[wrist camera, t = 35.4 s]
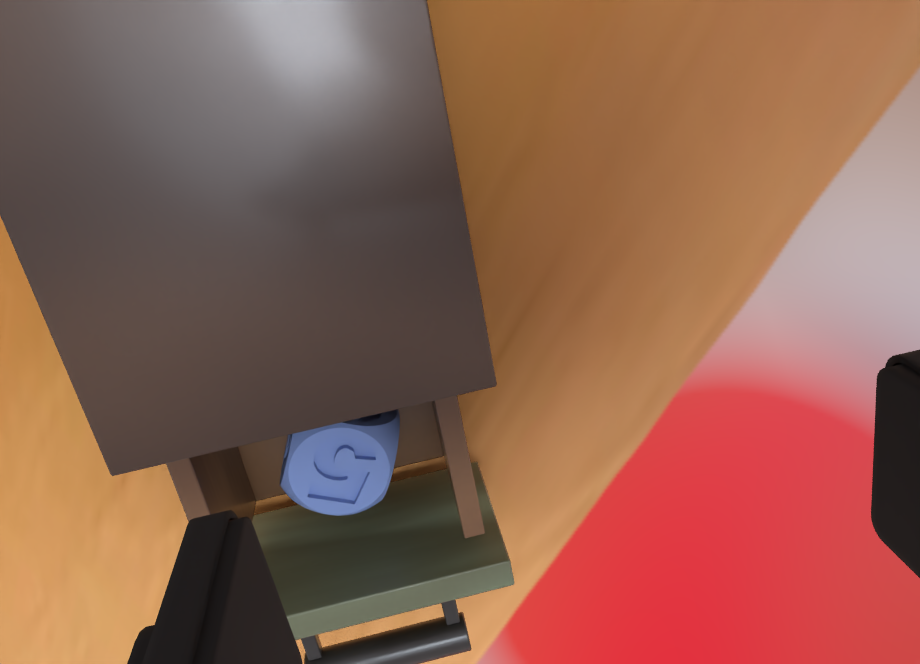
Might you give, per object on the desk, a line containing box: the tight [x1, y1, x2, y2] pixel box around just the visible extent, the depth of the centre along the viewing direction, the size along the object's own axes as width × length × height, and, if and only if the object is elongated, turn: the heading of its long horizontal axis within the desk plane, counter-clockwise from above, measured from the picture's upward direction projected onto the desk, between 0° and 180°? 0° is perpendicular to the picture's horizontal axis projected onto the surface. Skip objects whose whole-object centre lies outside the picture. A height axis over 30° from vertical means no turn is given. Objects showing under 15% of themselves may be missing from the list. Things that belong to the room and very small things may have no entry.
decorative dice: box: [280, 409, 400, 516], centre depth 30 cm, size 4×4×4 cm
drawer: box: [166, 395, 514, 664], centre depth 30 cm, size 18×11×7 cm, turn 10°
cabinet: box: [0, 0, 497, 476], centre depth 26 cm, size 15×13×9 cm
